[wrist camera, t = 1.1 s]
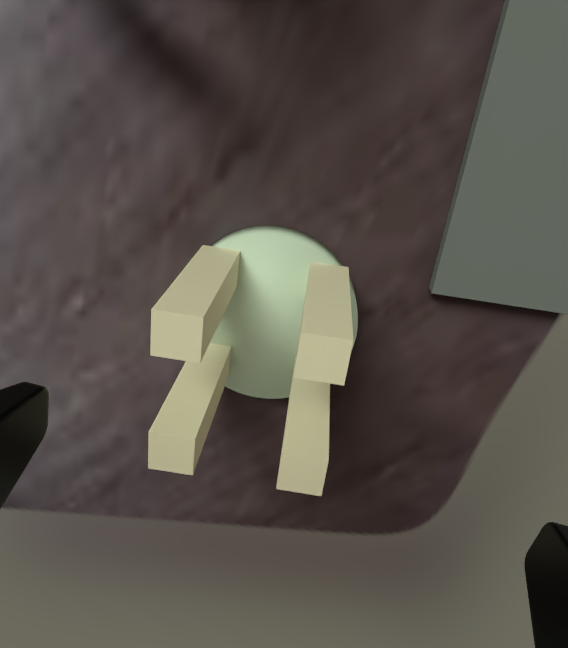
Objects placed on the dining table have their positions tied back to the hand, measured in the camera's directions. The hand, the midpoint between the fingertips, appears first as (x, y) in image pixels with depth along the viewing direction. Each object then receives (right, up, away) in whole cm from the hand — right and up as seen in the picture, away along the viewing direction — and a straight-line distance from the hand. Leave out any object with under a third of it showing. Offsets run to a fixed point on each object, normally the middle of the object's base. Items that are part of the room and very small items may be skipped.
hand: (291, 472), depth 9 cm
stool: (-1, +3, +12) cm, 13 cm away
